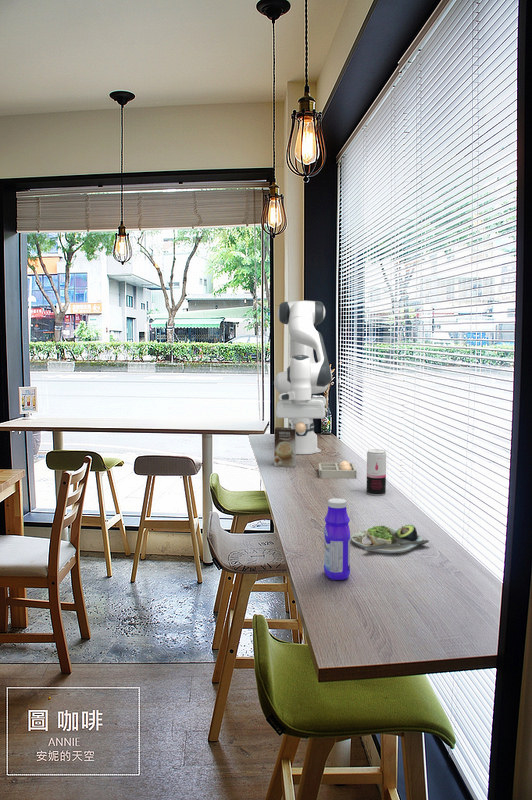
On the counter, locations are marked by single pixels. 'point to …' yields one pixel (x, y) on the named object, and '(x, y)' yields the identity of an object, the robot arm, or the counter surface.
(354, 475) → the carton
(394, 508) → the counter surface
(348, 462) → the egg
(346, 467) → the egg
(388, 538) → the avocado toast plate
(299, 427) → the egg
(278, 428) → the coffee box
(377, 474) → the beverage can
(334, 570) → the bottle
